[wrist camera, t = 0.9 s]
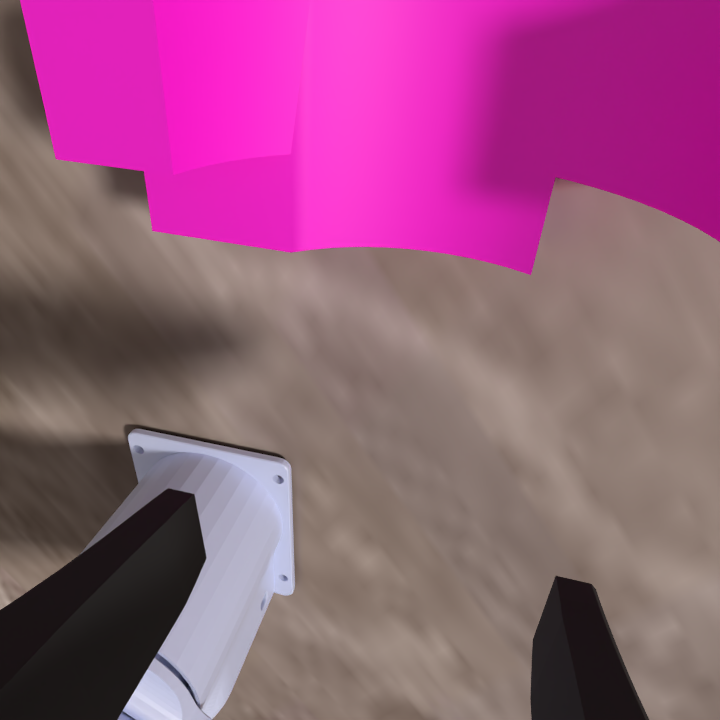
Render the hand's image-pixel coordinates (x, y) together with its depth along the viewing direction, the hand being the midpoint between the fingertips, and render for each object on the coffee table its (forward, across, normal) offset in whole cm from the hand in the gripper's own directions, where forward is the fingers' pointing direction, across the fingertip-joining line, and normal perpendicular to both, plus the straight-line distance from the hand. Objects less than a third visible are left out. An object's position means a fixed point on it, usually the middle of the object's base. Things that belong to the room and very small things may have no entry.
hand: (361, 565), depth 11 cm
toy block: (+11, 0, -7) cm, 13 cm away
